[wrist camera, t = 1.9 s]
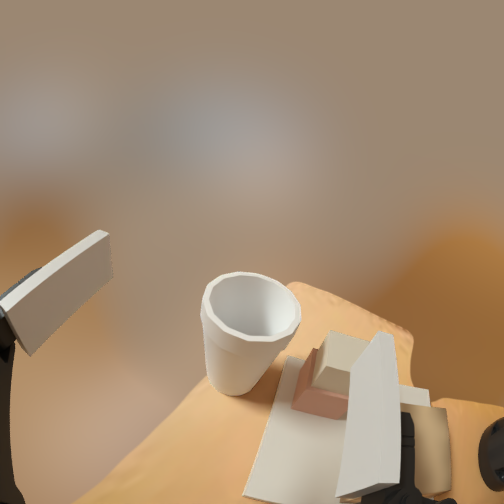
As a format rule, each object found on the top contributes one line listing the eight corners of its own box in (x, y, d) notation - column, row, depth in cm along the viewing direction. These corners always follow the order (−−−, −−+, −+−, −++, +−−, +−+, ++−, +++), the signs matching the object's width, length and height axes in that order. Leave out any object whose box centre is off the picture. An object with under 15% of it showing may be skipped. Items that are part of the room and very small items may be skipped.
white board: (422, 394, 32) (428, 389, 31) (425, 508, 15) (433, 505, 14) (284, 361, 35) (288, 355, 35) (241, 496, 19) (244, 495, 18)
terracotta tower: (340, 382, 32) (374, 339, 27) (336, 420, 27) (375, 382, 22) (299, 370, 33) (326, 325, 28) (290, 408, 28) (320, 368, 23)
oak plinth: (422, 426, 26) (445, 408, 23) (422, 501, 16) (451, 489, 13) (351, 416, 27) (372, 397, 25) (339, 503, 17) (364, 495, 15)
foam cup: (279, 398, 30) (318, 332, 23) (206, 413, 27) (218, 349, 20) (253, 341, 37) (277, 269, 31) (188, 350, 34) (194, 273, 27)
